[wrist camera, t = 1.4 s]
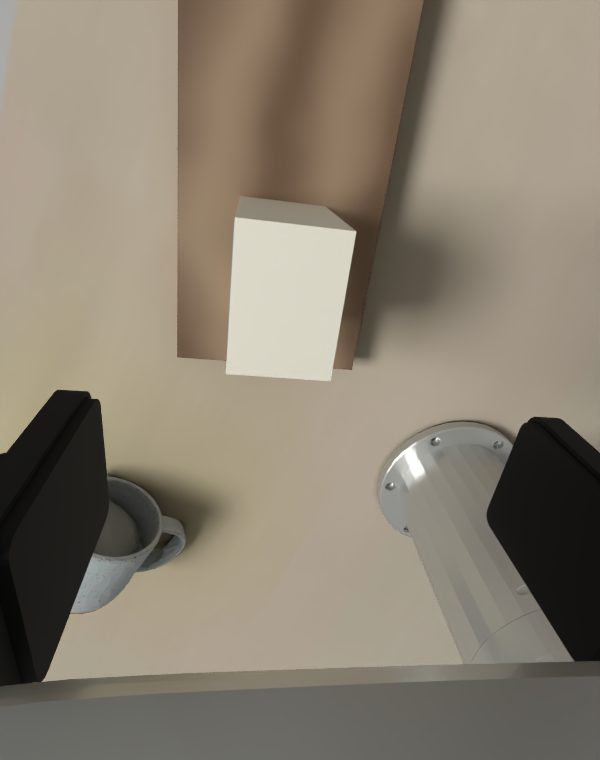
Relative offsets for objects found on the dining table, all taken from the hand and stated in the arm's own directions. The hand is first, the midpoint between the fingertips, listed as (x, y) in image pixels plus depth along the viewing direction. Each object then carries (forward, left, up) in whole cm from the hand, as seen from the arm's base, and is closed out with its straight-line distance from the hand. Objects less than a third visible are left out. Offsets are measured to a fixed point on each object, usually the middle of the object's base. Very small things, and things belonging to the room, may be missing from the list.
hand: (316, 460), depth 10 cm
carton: (0, 0, -20) cm, 20 cm away
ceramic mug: (+10, +23, -22) cm, 34 cm away
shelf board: (0, -5, -22) cm, 23 cm away
